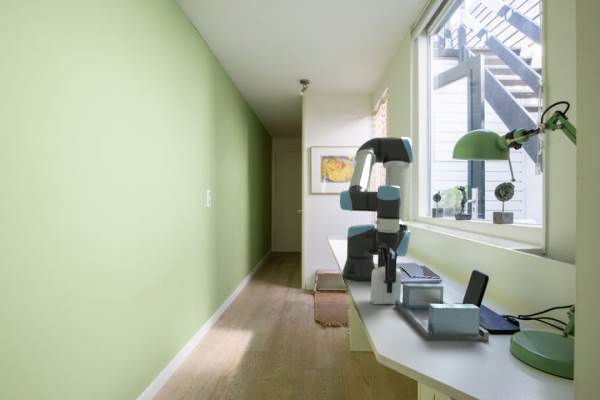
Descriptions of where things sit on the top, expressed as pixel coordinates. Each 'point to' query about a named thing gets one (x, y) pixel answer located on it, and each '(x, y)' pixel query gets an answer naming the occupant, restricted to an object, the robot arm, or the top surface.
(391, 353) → the top surface
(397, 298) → the white rounded slab
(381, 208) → the robot arm
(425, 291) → the sliding jaw
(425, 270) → the notebook
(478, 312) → the vise
